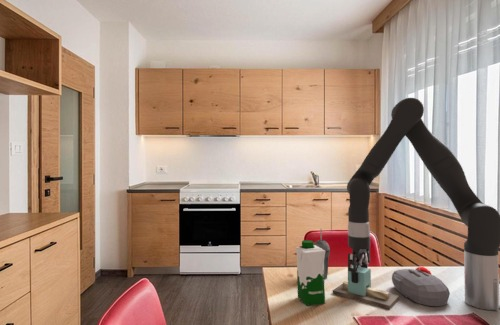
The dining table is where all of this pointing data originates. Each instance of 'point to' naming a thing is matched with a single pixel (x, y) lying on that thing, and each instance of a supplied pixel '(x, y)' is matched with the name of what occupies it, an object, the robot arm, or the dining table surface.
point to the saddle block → (360, 281)
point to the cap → (424, 270)
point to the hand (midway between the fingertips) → (359, 279)
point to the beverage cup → (325, 247)
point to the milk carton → (310, 273)
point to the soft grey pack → (421, 287)
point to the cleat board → (369, 296)
